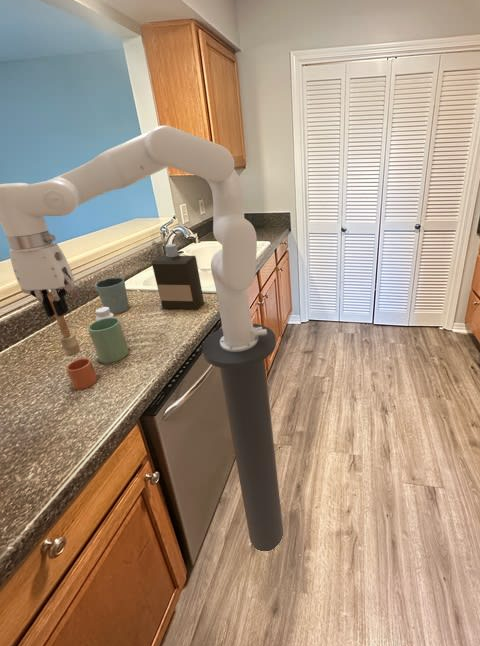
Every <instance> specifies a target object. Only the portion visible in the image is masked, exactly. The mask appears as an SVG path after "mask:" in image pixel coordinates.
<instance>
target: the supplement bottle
mask: <svg viewBox="0 0 480 646" xmlns="http://www.w3.org/2000/svg"><path fill="white" fill-rule="evenodd" d="M95 314H96V317H95V321H98V320H100V319H104V318H110V317H115V314H113V313H110V309H109V307H104V306H102V307H98V308H97V309H96V310H95Z"/></svg>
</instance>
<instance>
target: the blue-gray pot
mask: <svg viewBox="0 0 480 646" xmlns="http://www.w3.org/2000/svg"><path fill="white" fill-rule="evenodd" d="M94 288H95V289H96V292H97V294H98V297H99V299H100V301H101V304H102V307H109V309H110V313H113V315H116V314H121V313H123V312H126V311H128V309H129V308H130V304H129V298H128V293H127V288H126V282H125V278H124V277H119V276H113V277H107V278H103V279H100V280H98V281H97V282H96V283H95V284H94Z"/></svg>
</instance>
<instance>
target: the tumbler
mask: <svg viewBox="0 0 480 646" xmlns="http://www.w3.org/2000/svg"><path fill="white" fill-rule="evenodd" d="M87 331H88V333H89V336H90V339H91V341H92V344H93V348H94V350H95V353H96V355H97V359H98V361H99V362H100V363H102V364H111V363H116V362H118V361H120V360H123V359H124V358H126V356H128V354H129V352H130V351H129V346H128V342H127V340H126V337H125V333H124V330H123V327H122V323H121V319H120V318H118V317H115V316H114V317H110V318H104V319H100V320H98V321H96V320H95V321H93V322H92V323H90V324H89V325H88V327H87Z"/></svg>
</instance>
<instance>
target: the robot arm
mask: <svg viewBox="0 0 480 646" xmlns="http://www.w3.org/2000/svg"><path fill="white" fill-rule="evenodd" d="M235 165H236V164H235V159H234V156H233V154H232V153H231V152H230V151H229V150H228V148H226V147H225V146H223V145H222V144H218V143H216V142H213V141H210V140H208V139H205V138H203V137H200V136H197V135H194V134H192V133H190V132H187V131H185V130H182V129H179V128H176V127H174V126H172V125H171V126H170V125H159V126H156V127H155V128H153V129H151V130H148V131H146V132H143V133H142V134H140V135H138V136H135V137H134V138H131V139H129V140H127V141H125V142H123V143H122V142H121V143H120V144H118V145H116V146H113V147H111V148H109V149H106V150H105V151H103V152H101V153H99V154H97V156H95V157H94V158H93V159H91V160H89V161H88V162H85V163H84V164H82V165H80V166H78V167H75V168H73V169H71V170H69V171H66V172H63V173H62V174H60V175H58V176H55V177H53V178H50V179H47V180H44V181H40V182H36V183H35V182H33V183H28V182H27V183H26V182H10V183H9V182H7V183H0V226H1V227H2V230H3V233H4V235H5V238H6V239H7V242H8V245H9V247H10V249H9V256H10V262H11V267H12V270H13V273H14V276H15V278H16V281H17V283H18V286H19V287H20V289H21V292H22V294H26V295H31V296H33V297H34V298H36V299H37V301H38V302H39V303H42V306H43V308H44V311H45V312H46V315H47V317H48V318H51V317H53V316H55V315H54V312H53V309H52V307H51V304H50V302H49V299H48V296H47V293H50V292H52V295H53V298H54V300H55V301H53V305H54V308H55V310H56V313H57V315H58V316H62V315H63V316H64V315H65V314H66V313H67V312H69V307H68V304H67V302H66V299H65V297H66V296H67V294H68V293H69V292H72V291H73V290H75V289H76V287H77V286H76V284H75V283H74V280H75V277H74V274H73V271H72V269H71V266H70V264H69V262H68V260H67V258H66V256H65V254H64V252H63V251H62V249H61V248H60V246H59V244H58V243H54V242H55V241H56V239H57V237H56V235H55V234H51V232H50V230H49V228H48V225H47V222H46V219H45V217H63V216H68V215H70V214H71V213H73V212H74V211H75V210H76V208H77V207H79V206H81V205H82V204H84V203H87V202H89V201H90V200H93V199H95V198H97V197H99V196H101V195H103V194H106V193H109V192H111V191H115V190H121V189H125V188H127V187H130V186H132V185H134V184H136V183H138V182H140V181H143V180H144V179H146V178H148V177H150V176H152V175H154V174H156V173H158V172H160V171H162V170H165V169H167V168H168V167H170V168H173V169H176V170H179V171H182V172H185V173H187V174H191V175H194V176H197V177H200V178H202V179H204V180H205V181H206V182H207V183H208V185H209V187H210V189H211V193H212V206H213V215H212V216H213V217H212V218H213V224H212V225H213V226H212V232H213V233H212V234H213V236H214V239H215V240H216V241H217V242H218V243H219V244H220V245H221V249H220V250H218V251H217V252H216V253H214V254H213V256H212V258H211V261H210V271H211V275H212V279H213V283H214V287H215V292H216V298H217V304H218V310H219V317H220V321H221V322H220V323H221V329H223V335H224V336H223V337H222V338H221V339H220V346H221V348H222V349H224V350H226V351H229V352H241V351H245V350H248V349H250V348H252V347H253V346H255V345H256V344H257V342H258V336H260V335H267V330H266V329H263V330H262V327H258V328H255V327H253V324H254V323H252V315H251V308H250V306H251V305H250V300H249V299H250V297H249V296H250V295H249V290H248V288H249V287H250V286H251V285H252V284H253V282H254V280H255V278H256V272H257V248H258V247H257V246H258V239H257V237H258V236H257V232H256V229H255V227H254V225H253V224H252V223H251V221H249V220H248V219H246V218H245V201H244V200H245V199H244V198H245V197H244V187H243V184H242V181H241V179H240V176H239V174H238V172H237V171H236V169H235Z"/></svg>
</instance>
